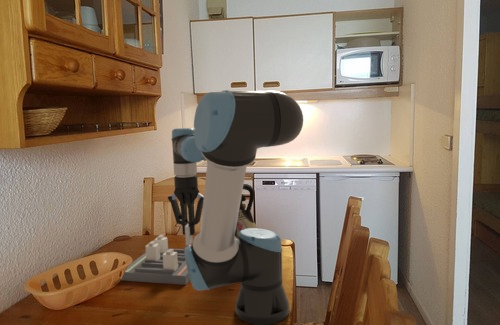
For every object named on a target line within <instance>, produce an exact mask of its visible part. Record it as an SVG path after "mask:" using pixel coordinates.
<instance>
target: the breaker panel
mask: <svg viewBox="0 0 500 325" xmlns="http://www.w3.org/2000/svg"><path fill="white" fill-rule="evenodd" d="M169 249H170V248H168V250H169ZM173 249H174V252H177V259H178V269H177V270H176V271H175V272H174V270H168V269H163V254H164V253H160V259H159V260H146V251H145V252H144V253H142V255H140V256H139V257H138V258H136V259H135V260H133V262H131V263H129V266H128V265H127V266H128V267H127V266H126V267H127V269H126V270H125V272H124V275H123V277H122V280H121V281H124V282H125V281H127V282H139V283H140V282H141V283H154V284H168V285H170V284H171V285H185V286H186V285H188V283H189V282H190V278H189V274H188V270H187V265H186V260H185V253H184V249H185V248H184V249H183V248H173Z"/></svg>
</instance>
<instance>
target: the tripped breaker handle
mask: <svg viewBox="0 0 500 325" xmlns="http://www.w3.org/2000/svg"><path fill="white" fill-rule="evenodd" d="M168 249H169V250H167V251H166V252H165V253H164V254H163V269H168V270H174V272H175V271H176V270H177V269H178V259H177V252H174V249H175V248H168Z"/></svg>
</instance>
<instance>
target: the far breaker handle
mask: <svg viewBox="0 0 500 325" xmlns="http://www.w3.org/2000/svg"><path fill="white" fill-rule="evenodd" d="M153 241H156V244H159V247H160V253H165V252H166V251H167V250H168V249H169V242H168V237H167V236H165V235H164V234H159V235H158V236H157V237H156V238H154V239H153Z"/></svg>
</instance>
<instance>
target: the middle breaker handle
mask: <svg viewBox="0 0 500 325" xmlns="http://www.w3.org/2000/svg"><path fill="white" fill-rule="evenodd" d="M145 252H146V260H159V259H160V247H159V244H156V241H154V240H151V241H150V242H148V244H146V245H145Z"/></svg>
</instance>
